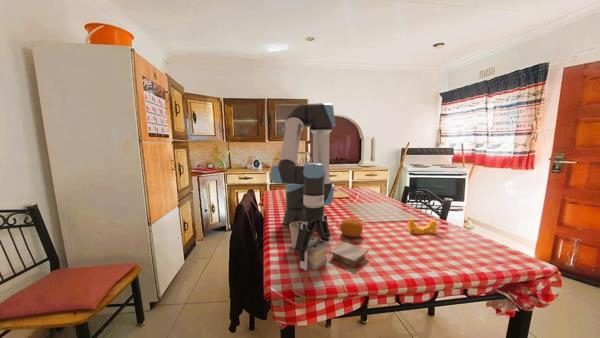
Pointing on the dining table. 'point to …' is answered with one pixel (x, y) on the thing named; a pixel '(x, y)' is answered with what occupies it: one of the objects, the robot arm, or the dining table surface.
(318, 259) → the housing
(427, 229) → the pipe clamp
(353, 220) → the fruit
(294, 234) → the mug
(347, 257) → the stand
